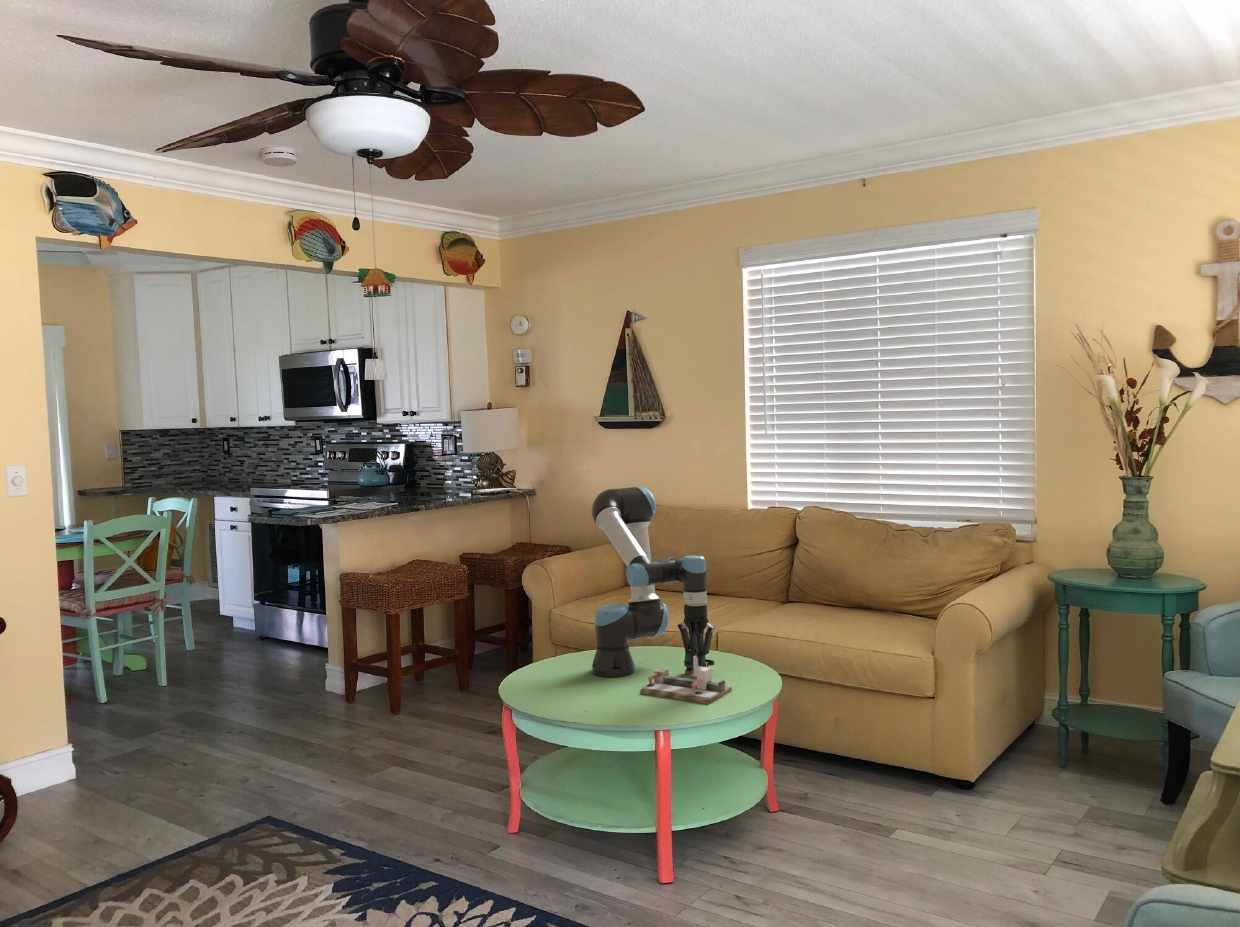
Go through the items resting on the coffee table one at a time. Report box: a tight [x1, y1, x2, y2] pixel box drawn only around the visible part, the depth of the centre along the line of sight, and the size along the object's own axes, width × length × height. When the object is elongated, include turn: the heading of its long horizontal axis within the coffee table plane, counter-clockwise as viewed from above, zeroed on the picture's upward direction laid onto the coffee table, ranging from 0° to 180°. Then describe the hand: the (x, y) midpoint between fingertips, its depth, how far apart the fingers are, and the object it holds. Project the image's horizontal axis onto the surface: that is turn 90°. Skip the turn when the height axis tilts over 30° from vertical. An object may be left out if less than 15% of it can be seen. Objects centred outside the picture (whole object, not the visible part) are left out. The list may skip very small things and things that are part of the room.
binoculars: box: [683, 651, 715, 675], centre depth 327 cm, size 9×11×10 cm
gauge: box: [639, 667, 733, 705], centre depth 305 cm, size 25×16×5 cm, turn 57°
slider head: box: [692, 666, 713, 691], centre depth 303 cm, size 3×10×6 cm, turn 147°
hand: (697, 675), depth 306 cm, fingers closed
